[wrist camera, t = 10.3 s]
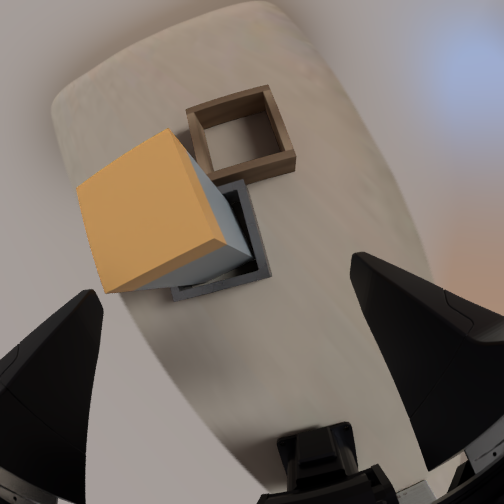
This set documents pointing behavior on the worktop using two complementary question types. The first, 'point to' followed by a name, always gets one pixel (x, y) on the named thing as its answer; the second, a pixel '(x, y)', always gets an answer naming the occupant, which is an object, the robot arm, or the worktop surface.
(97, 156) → the worktop surface
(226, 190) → the socket
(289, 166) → the square frame
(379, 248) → the worktop surface
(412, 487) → the small box
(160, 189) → the plug
